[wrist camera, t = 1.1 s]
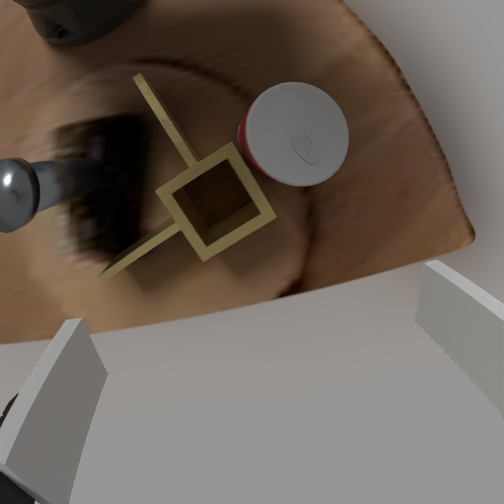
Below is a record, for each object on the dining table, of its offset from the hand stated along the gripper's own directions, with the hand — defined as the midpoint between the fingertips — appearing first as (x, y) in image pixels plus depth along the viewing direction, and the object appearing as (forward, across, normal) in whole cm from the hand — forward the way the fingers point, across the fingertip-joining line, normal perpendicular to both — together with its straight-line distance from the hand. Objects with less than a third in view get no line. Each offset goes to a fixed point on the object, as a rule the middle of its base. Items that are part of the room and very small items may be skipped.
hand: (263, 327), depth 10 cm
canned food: (+24, +5, +6) cm, 25 cm away
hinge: (+23, -8, +4) cm, 25 cm away
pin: (+23, -15, +6) cm, 29 cm away
